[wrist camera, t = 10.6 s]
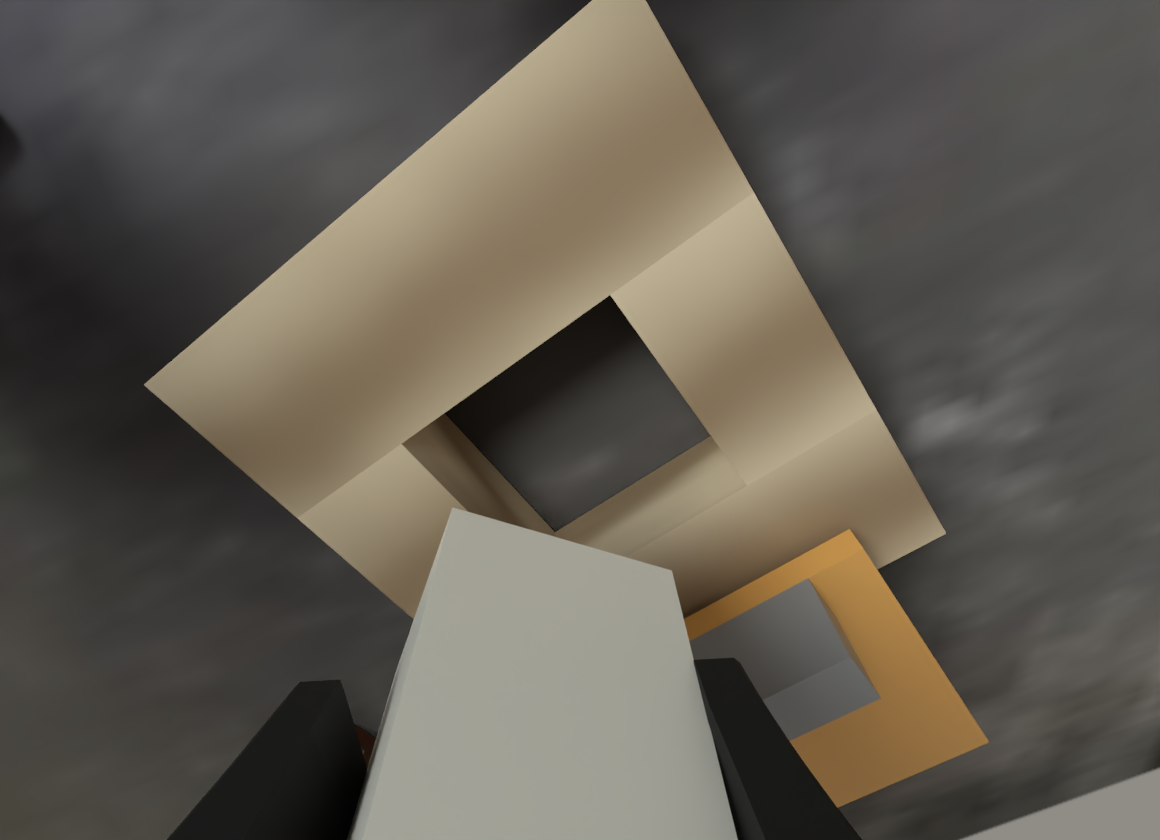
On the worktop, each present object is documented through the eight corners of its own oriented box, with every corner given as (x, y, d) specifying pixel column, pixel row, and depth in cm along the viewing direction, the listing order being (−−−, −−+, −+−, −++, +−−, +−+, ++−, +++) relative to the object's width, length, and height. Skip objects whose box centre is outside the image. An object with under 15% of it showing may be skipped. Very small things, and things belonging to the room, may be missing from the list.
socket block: (211, 340, 17) (143, 384, 14) (613, -2, 13) (628, -31, 11) (552, 662, 22) (551, 739, 19) (891, 474, 19) (946, 533, 16)
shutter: (565, 683, 18) (566, 796, 15) (849, 528, 16) (916, 624, 13) (721, 830, 21) (747, 945, 18) (972, 719, 19) (1049, 829, 16)
